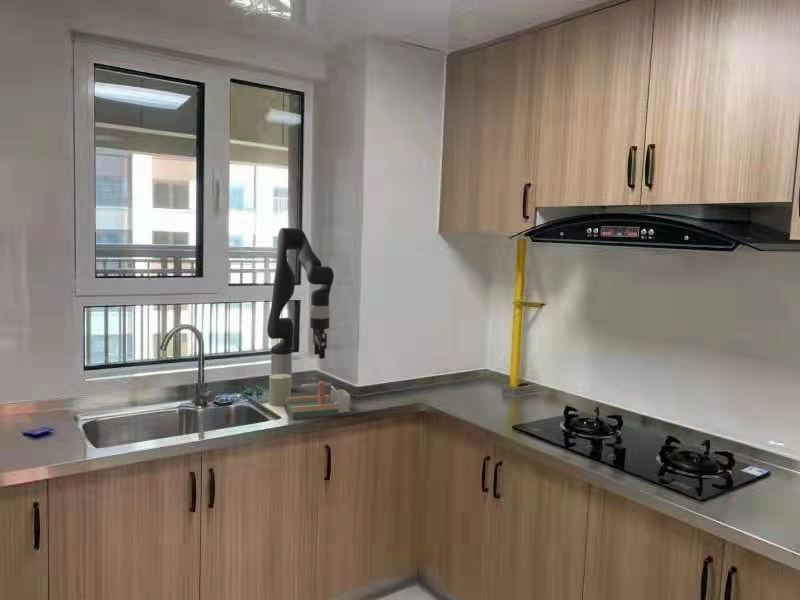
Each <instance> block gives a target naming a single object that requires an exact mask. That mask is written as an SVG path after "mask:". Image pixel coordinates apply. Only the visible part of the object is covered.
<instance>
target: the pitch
mask: <svg viewBox="0 0 800 600" xmlns="http://www.w3.org/2000/svg"><path fill="white" fill-rule="evenodd" d="M325 397H326V404H322V405H319V404H318V403H317V395H310V396H309V395H308V396H294V397H291V398H286V405H285V408H286V410H287V412H288V414H289V415H290V418H291V419H292V418H297V419H306V418H305V417H309V418H317V417H316V416H321V417H328V416H327V415H333V416H338V415H339V413H338V403H336V404H333V403H332V402H331V394H325Z"/></svg>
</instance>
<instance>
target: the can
mask: <svg viewBox="0 0 800 600" xmlns="http://www.w3.org/2000/svg"><path fill="white" fill-rule="evenodd" d="M268 383H269V386H268V387H269V389H268V390H269V392H268V393H269V396H268V397H269V402H268V404H269V405H271V406H275V407H279V406H280V407H282V406H283V407H284V406H286V398H291V396H292V395H291V394H292V392H291V391H292V390H291V375H288V374H274V375H271V374H270V375H269V376H268Z"/></svg>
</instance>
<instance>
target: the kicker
mask: <svg viewBox="0 0 800 600" xmlns="http://www.w3.org/2000/svg"><path fill="white" fill-rule="evenodd" d="M331 386H333V385H332V382H325V381H324V380H318V382H317V383H304V384H303V383H302V384H301V389H307V388H317V393H316V396H317V403H318V404H319V405H322V404H326V397H325V395H326V392H325V389H326V387H331Z"/></svg>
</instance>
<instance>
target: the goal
mask: <svg viewBox="0 0 800 600" xmlns="http://www.w3.org/2000/svg"><path fill="white" fill-rule="evenodd" d="M330 389H331V390H330V401H331V402H332V403H333V404H335V402H336V403H338V414H345V413H344V412H349V413H351V394H350V393H348V391H346V390H345V389H336V388H335V387H334V386H333V385H331V386H330Z"/></svg>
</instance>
